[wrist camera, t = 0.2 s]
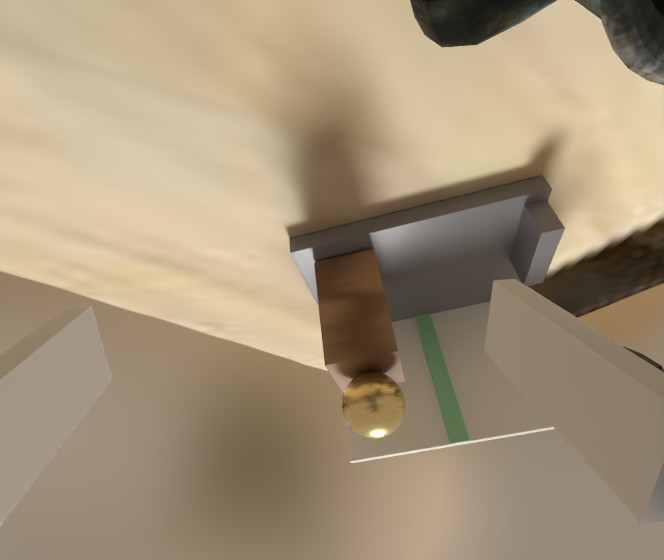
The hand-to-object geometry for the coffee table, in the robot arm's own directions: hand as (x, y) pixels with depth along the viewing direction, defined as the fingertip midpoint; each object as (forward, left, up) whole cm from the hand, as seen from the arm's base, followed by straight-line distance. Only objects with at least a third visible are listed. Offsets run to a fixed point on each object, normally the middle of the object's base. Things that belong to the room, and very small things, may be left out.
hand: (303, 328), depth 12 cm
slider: (+15, +5, -13) cm, 20 cm away
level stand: (+17, +11, -15) cm, 25 cm away
